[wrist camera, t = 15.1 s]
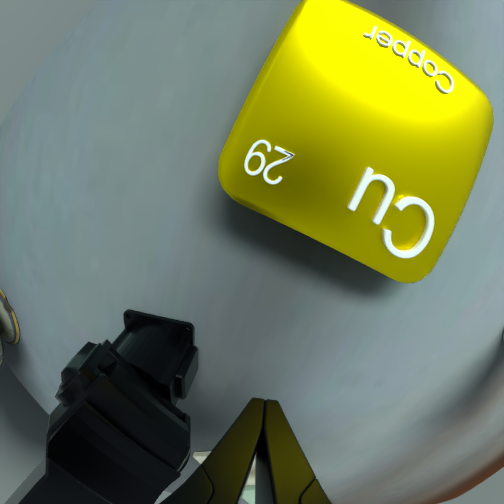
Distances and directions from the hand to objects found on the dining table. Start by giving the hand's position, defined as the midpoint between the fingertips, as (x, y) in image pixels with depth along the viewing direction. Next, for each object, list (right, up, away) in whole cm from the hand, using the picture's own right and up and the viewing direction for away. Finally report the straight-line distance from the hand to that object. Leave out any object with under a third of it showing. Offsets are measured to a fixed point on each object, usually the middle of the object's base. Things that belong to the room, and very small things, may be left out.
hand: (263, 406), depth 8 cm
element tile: (+7, +13, +10) cm, 18 cm away
